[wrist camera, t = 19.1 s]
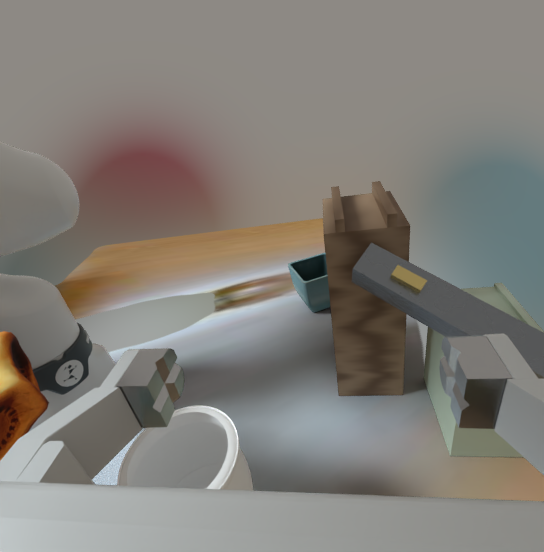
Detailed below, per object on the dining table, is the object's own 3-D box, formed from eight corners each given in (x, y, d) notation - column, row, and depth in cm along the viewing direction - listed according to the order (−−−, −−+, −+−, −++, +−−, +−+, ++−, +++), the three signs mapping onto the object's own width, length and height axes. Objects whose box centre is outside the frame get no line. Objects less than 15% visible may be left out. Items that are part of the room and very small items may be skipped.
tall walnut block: (338, 395, 50) (322, 221, 37) (335, 341, 61) (321, 188, 47) (402, 394, 49) (410, 211, 35) (388, 338, 59) (390, 179, 45)
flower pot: (349, 308, 68) (347, 269, 64) (308, 322, 66) (303, 282, 62) (329, 287, 76) (326, 251, 71) (292, 299, 74) (286, 263, 69)
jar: (228, 469, 43) (196, 387, 36) (287, 531, 36) (262, 445, 29) (153, 543, 37) (96, 463, 30) (206, 634, 31) (150, 559, 23)
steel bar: (564, 364, 31) (596, 355, 27) (548, 397, 30) (578, 392, 26) (368, 257, 38) (371, 239, 35) (351, 281, 38) (353, 265, 34)
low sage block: (450, 456, 40) (466, 355, 33) (423, 378, 51) (431, 287, 43) (525, 457, 39) (561, 352, 31) (482, 376, 49) (501, 282, 41)
